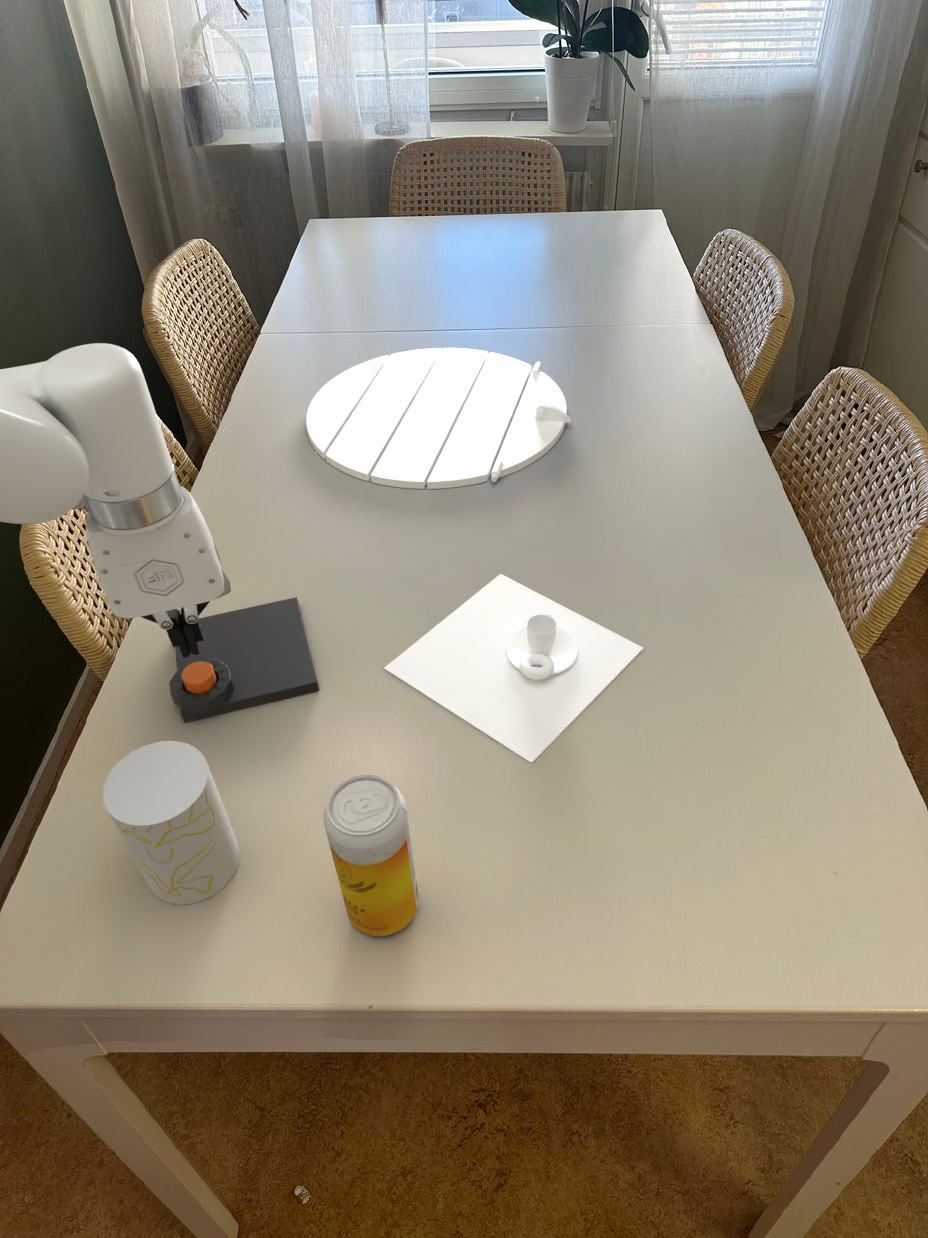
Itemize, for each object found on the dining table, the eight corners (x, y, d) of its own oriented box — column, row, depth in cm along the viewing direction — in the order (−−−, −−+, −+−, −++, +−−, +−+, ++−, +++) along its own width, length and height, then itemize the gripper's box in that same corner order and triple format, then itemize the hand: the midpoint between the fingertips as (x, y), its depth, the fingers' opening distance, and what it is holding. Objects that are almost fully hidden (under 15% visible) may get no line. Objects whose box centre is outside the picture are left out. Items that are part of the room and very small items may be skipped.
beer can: (340, 885, 75) (314, 782, 64) (409, 865, 76) (393, 760, 66) (355, 950, 70) (329, 850, 60) (427, 928, 72) (414, 825, 61)
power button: (186, 697, 88) (182, 687, 86) (184, 675, 90) (180, 665, 89) (217, 690, 88) (214, 679, 87) (215, 668, 90) (211, 658, 89)
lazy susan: (589, 365, 141) (590, 345, 139) (546, 505, 114) (547, 483, 111) (357, 345, 149) (355, 326, 147) (265, 471, 122) (260, 450, 119)
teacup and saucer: (544, 694, 90) (545, 667, 87) (485, 659, 94) (484, 632, 91) (592, 647, 94) (595, 620, 92) (534, 616, 98) (535, 589, 95)
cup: (146, 915, 73) (101, 837, 65) (146, 835, 79) (104, 754, 71) (243, 890, 75) (211, 810, 66) (235, 813, 80) (205, 731, 72)
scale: (179, 728, 88) (171, 709, 86) (171, 633, 98) (164, 614, 96) (320, 694, 91) (315, 675, 89) (299, 605, 101) (294, 586, 99)
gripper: (38, 539, 69) (113, 692, 82) (227, 501, 72) (271, 654, 84) (43, 487, 74) (113, 638, 87) (219, 453, 77) (261, 605, 90)
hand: (190, 646), depth 86 cm, fingers closed
